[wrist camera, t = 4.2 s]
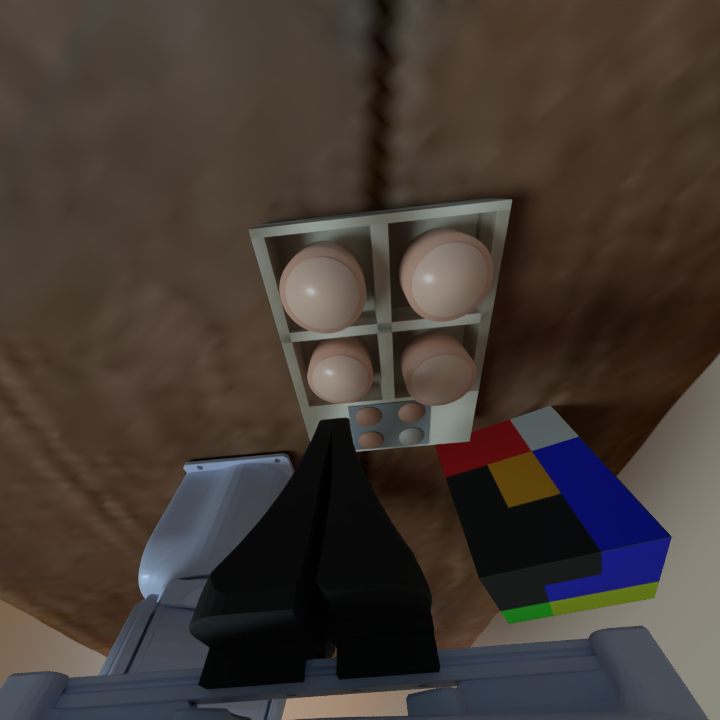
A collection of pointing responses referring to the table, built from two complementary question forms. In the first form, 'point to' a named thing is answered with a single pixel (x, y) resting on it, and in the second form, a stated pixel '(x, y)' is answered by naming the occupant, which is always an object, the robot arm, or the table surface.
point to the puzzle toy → (550, 520)
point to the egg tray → (385, 317)
